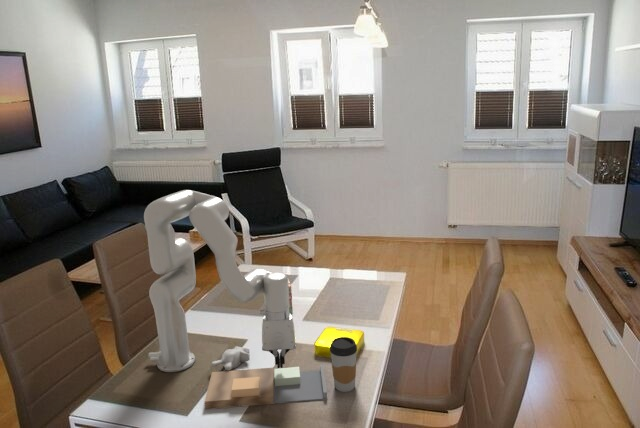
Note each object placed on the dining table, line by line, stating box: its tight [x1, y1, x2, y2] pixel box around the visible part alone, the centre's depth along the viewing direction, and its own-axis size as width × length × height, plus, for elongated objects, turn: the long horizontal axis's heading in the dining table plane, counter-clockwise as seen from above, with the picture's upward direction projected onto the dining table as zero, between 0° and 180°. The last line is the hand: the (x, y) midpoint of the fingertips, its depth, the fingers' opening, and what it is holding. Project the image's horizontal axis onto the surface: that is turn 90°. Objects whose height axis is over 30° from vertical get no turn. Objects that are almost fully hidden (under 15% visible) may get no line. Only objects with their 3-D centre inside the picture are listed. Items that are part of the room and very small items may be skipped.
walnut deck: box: [204, 367, 275, 410], centre depth 161 cm, size 20×16×2 cm
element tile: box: [313, 326, 365, 359], centre depth 184 cm, size 15×15×5 cm
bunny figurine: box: [210, 345, 251, 371], centre depth 176 cm, size 10×5×15 cm
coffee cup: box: [330, 337, 357, 393], centre depth 159 cm, size 8×8×15 cm
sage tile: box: [274, 366, 301, 386], centre depth 165 cm, size 8×6×2 cm
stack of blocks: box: [288, 278, 294, 314], centre depth 222 cm, size 21×6×12 cm, turn 12°
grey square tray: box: [272, 363, 328, 405], centre depth 162 cm, size 16×16×2 cm
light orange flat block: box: [232, 377, 260, 397], centre depth 156 cm, size 8×6×2 cm
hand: (280, 365), depth 165 cm, fingers closed
